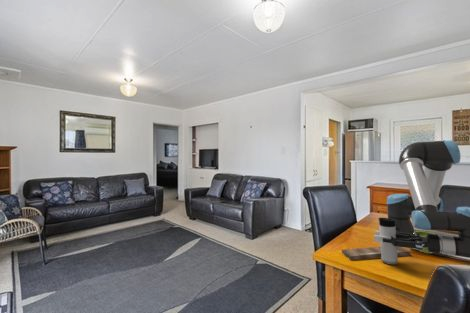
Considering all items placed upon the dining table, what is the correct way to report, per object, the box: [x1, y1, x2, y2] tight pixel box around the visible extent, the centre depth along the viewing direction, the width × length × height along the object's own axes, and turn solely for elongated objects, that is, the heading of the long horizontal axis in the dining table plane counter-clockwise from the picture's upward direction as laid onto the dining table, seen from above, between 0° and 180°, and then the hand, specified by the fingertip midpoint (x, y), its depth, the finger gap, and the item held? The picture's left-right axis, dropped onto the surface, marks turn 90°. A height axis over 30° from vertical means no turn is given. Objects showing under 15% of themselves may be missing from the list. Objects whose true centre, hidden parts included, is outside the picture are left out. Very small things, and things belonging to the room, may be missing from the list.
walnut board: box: [341, 246, 412, 261], centre depth 115 cm, size 30×8×2 cm, turn 94°
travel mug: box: [378, 217, 399, 265], centre depth 106 cm, size 6×7×20 cm
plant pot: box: [414, 230, 435, 254], centre depth 116 cm, size 9×9×9 cm
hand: (374, 235), depth 109 cm, fingers closed on travel mug, 6 cm apart
